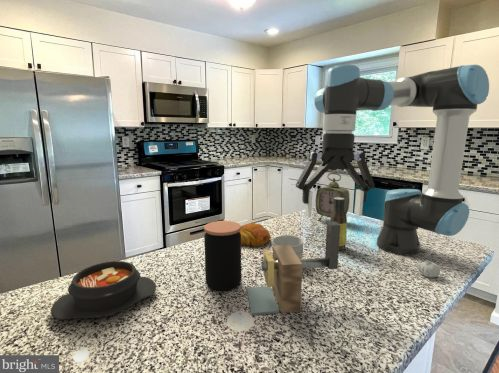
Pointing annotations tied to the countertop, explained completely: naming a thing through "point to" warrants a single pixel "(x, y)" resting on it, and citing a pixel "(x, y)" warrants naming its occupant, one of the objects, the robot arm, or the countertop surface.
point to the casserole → (103, 291)
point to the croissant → (254, 235)
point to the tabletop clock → (330, 198)
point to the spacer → (268, 268)
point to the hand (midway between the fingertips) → (333, 215)
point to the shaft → (330, 253)
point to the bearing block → (287, 279)
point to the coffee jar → (222, 255)
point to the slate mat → (262, 300)
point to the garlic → (429, 269)
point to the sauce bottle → (340, 220)
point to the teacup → (290, 243)
